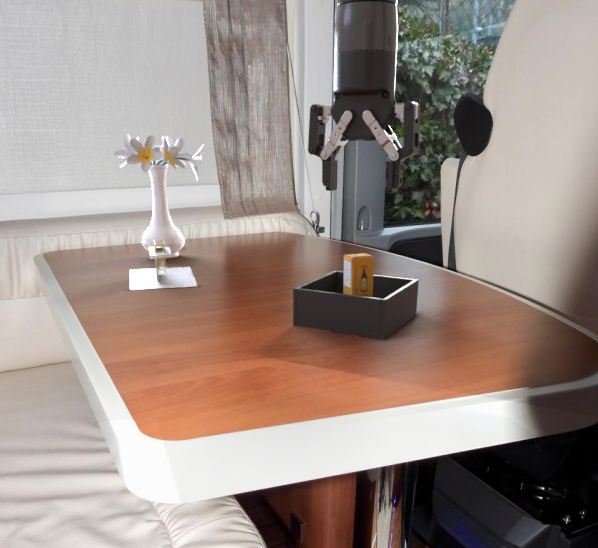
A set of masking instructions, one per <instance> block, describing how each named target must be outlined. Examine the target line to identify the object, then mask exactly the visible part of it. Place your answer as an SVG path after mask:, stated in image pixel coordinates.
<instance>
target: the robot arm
mask: <svg viewBox="0 0 598 548" xmlns="http://www.w3.org/2000/svg"><path fill="white" fill-rule="evenodd" d="M397 5H398V0H336V16H335V23H334V38H333V45H332V47H333V102H332V104H331V105H325V104H321V103H319V104H318V103H316V104H315V103H313V104H312V105H310V107H309V122H308V140H307V141H308V142H307V152H308V153H309V154H310V155H314V156H315V157H318V158H320V160H321V167H322V168H321V183H322V185H323V187H325V191H327V192H330V191H331V192H334V191H337V189H338V164H339V163H338V162H339V160H337V159H336V158H337V156H338V155H339V153H340V152H341V150H342V149H343V148H344V147H345V146H346V145H347V143H348V142H355V141H356V142H359V141H364V142H374V141H375V142H377V143H378V144H379V145H380V147H382V148H383V150H384V151H385V153H386V154H387V156H388V158H389V161H387V175H386V176H387V177H386V192H387V193H388V194H394V193H397V192H398V190H399V188H401V187H402V186H403V177H404V162H405V160H406V159H407V158H410V157H413V156H416V155H418V154H419V152H420V132H421V131H420V122H421V120H420V119H421V116H420V115H421V105H420V104H419V102H416V101H407V102H405V103H400V104H397V103H396V99H395V94H396V93H395V92H396V75H397V58H398V57H397V56H398V55H397V54H398V36H399V35H398V34H399V24H398V6H397ZM397 115H398V117H399V121H400V123H403V146H401V144H400V143H399V141H398V137H397V136H396V133H395V132H394V131H393V129H392V128H391V126H390V125H391V124H392V122H393V121H394V120H395V118H396V116H397ZM330 118H332V120H333V121H334V123H335V124H336V126H335V128H334V129H333V130H332V132H331V133H330V135H329V137H328V139H327V142H326V127H327V123H329V121H330ZM325 142H326V143H325Z"/></svg>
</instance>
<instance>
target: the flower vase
mask: <svg viewBox="0 0 598 548" xmlns="http://www.w3.org/2000/svg"><path fill="white" fill-rule="evenodd" d="M123 144H124V147H125V148H119V149H117V150H115V152H114V154H113V156H114V157H115V158H118V159H121V160H120V162H119V164H118V168H119V169H122V168H123V167H125V165H126V164H128V165H137V164H140V168H141V171H142V172H143V173H145V174H147V173H149V177H150V181H151V190H152V217H151V220H150V224H149V225H148V226H147V228H146V229H145V230H144V232H143V234H142V236H141V245H142V246H143V248H144V249H145V250H146V251H147V252H149V247H152V246H154V240H163V241H164V244H165V247H169V248H170V251H171V256H170V257H165V259H167V260H168V259H174V258H178V257H179V255H180V251H181V250H182V249H183V248H184V246H185V244H186V239H185V236H184V234H183V232H182V231H181V230H180V229H179V228H178V227H177V226H176V225H175V223H174V221H173V219H172V217H171V213H170V209H169V202H168V193H167V192H168V191H167V176H168V175H167V173H168V169H169V167H171V169H173V170H174V171H176V170H177V167H178V168H181V169H183V170H186V169H187V164H186V162H188V163H189V164H190V167H191V169H192V171H193V173H194V175H195V176H194V177H195V178H196V181H198V180H199V166H200V165H201V164H202V161H203V155H202V152H203V150H204V149H203V148H204V145H205V143H203V144H202V145H201V146H200V148H199V149H198V150H197V152H196V153H194V155H192V154H191V153H189V152H188V151H187V152H186V151H183V150H184V149H185V139H184V138H182V137H178V138H177V139H176V141H175V143H174V141H173V140H172V138H171V137H170V136H169V135H166V136H164V135H162V136H161V144H160V145H156V137H155V136H154V135H153V134H151V135H149V136H146V137H145V140H144V144H142V143H141V141H140V137H139V136H136V137H135V138H132V137H131V136H130V134H129V133H126V134H125V135H124V139H123ZM155 245H156V246H159V247H163V243H161V242H155ZM157 253H164V251H157ZM159 259H164V258H159Z"/></svg>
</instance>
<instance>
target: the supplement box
mask: <svg viewBox="0 0 598 548" xmlns="http://www.w3.org/2000/svg"><path fill="white" fill-rule="evenodd" d="M374 263H375V256H374V255H372V254H368V253H365V252H361V253H349V254H343V272H344V283H343V287H344V289H343V294H349V295H357V296H365V297H373V275H374V266H375V265H374Z"/></svg>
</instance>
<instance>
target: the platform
mask: <svg viewBox="0 0 598 548" xmlns="http://www.w3.org/2000/svg"><path fill="white" fill-rule="evenodd" d="M155 242H161V243H163V247H159V246H156V245H155ZM157 251H164V253H157ZM148 254H149V259H150V260H154V263H155V264H154V265H155V268H134V269H133V268H132V269H131V268H130V269H129V290H130V291H137V290H154V289H155V290H156V289H173V288H176V289H177V288H189V287H190V288H193V287H199V285H198V283H197V280H196V278H195V276H194V273H193V271H192V269H191V266H176V267H175V266H174V267H173V266H172V267H167V262H166V259H165V257H170V256H171V251H170V248H169V247H165V244H164V241H163V240H154V246H152V247H149V251H148ZM159 258H164V259H159ZM183 267H184V268H183Z"/></svg>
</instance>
